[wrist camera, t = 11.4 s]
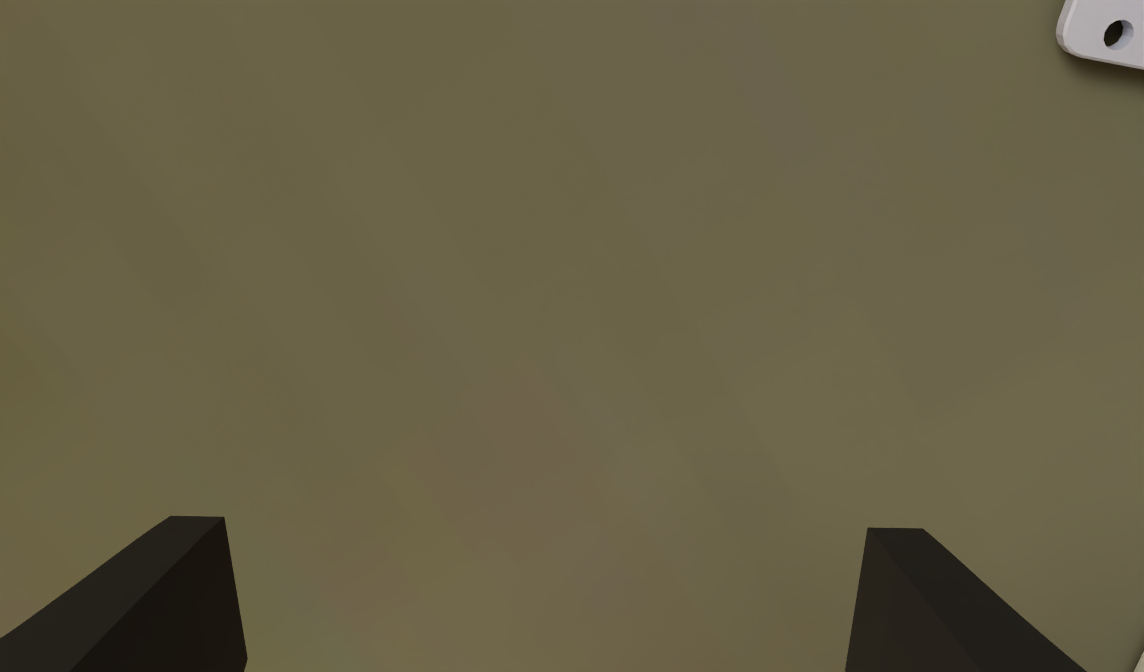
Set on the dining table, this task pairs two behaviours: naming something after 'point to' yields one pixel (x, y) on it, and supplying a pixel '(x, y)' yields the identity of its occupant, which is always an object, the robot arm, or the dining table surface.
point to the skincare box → (1140, 664)
